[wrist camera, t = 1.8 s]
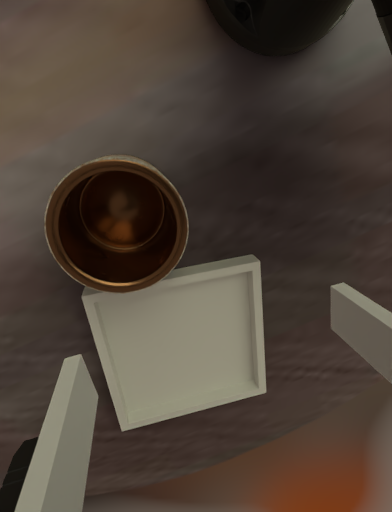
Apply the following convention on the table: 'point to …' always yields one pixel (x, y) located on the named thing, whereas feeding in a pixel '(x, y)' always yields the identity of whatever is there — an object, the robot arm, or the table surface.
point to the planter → (116, 224)
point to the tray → (182, 341)
